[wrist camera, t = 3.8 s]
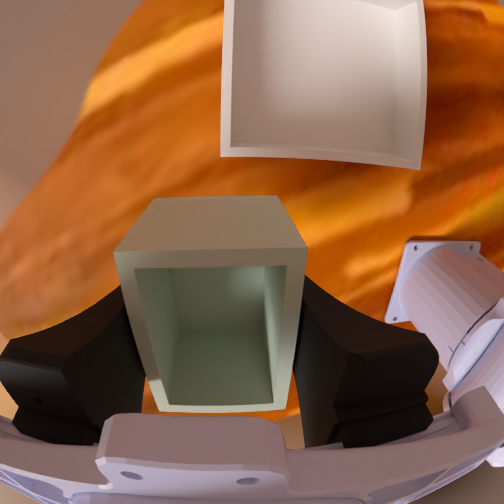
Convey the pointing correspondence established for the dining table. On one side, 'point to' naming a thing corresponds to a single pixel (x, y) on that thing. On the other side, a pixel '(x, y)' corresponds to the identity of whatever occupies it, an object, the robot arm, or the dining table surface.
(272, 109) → the big crate
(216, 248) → the small crate
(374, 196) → the dining table surface
